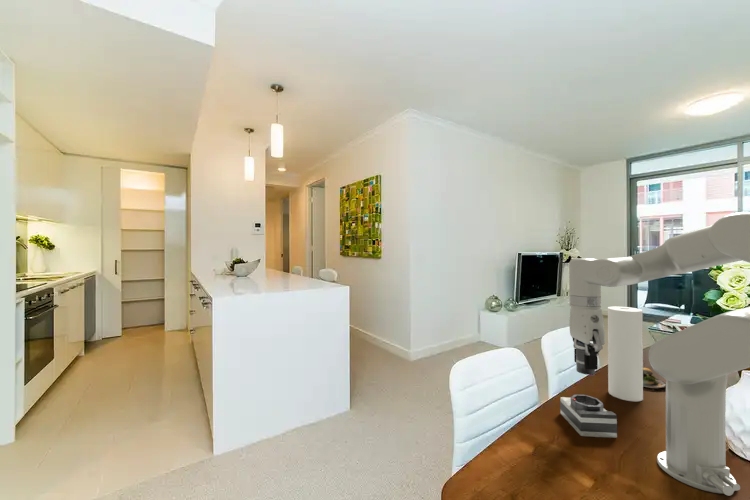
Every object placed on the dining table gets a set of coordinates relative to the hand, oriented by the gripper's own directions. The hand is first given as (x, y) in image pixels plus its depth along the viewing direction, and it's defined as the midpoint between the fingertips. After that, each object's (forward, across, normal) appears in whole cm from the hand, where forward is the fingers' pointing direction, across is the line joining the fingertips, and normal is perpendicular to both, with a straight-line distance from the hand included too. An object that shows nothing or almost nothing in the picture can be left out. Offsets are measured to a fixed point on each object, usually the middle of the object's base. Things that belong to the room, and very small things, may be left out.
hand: (585, 365), depth 93 cm
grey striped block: (+17, 0, 0) cm, 17 cm away
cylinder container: (+17, +21, -24) cm, 36 cm away
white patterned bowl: (+18, +31, -37) cm, 51 cm away
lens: (+2, 0, 0) cm, 2 cm away
